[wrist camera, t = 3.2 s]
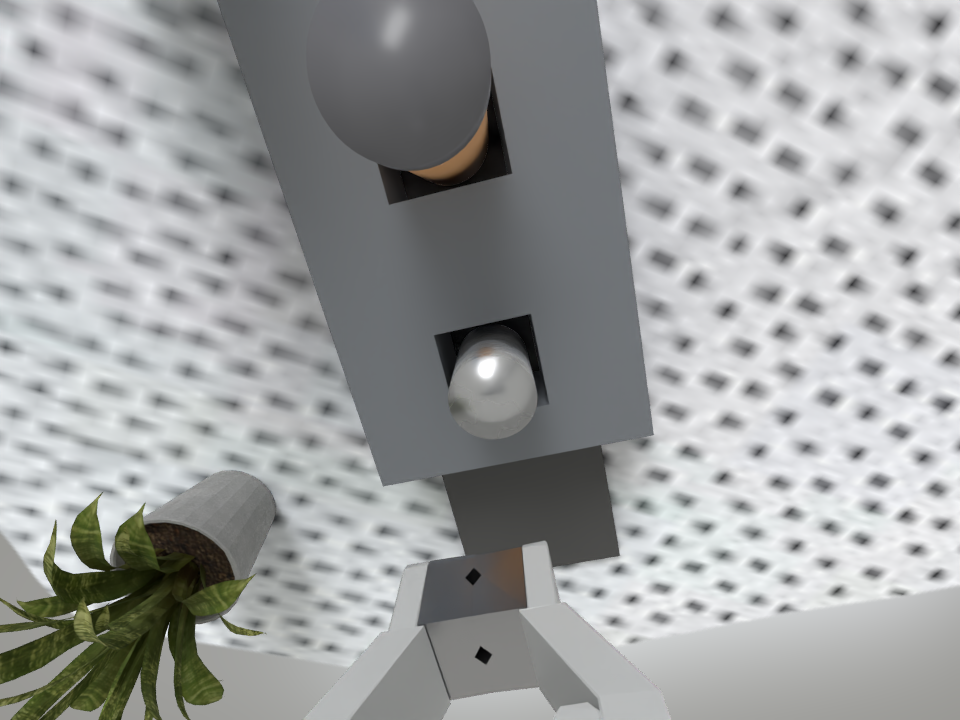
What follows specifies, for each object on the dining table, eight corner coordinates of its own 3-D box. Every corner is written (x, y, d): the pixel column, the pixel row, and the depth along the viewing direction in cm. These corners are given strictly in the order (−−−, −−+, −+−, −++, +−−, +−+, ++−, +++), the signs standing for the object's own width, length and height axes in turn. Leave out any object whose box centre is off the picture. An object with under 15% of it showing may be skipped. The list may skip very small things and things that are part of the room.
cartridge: (481, 74, 22) (466, -73, 11) (501, 176, 24) (508, 142, 12) (387, 100, 23) (279, -15, 11) (413, 199, 24) (340, 186, 13)
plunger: (450, 332, 23) (438, 367, 18) (520, 317, 23) (527, 347, 18) (467, 396, 24) (459, 446, 19) (533, 382, 24) (544, 430, 19)
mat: (594, 417, 28) (596, 421, 27) (617, 550, 31) (619, 555, 30) (436, 448, 29) (435, 452, 28) (473, 574, 32) (472, 579, 31)
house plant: (404, 520, 30) (311, 842, 15) (274, 625, 34) (84, 981, 18) (236, 371, 27) (-100, 577, 12) (110, 501, 31) (-285, 798, 15)
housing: (276, 44, 22) (216, -3, 17) (561, -41, 21) (581, -117, 16) (401, 440, 29) (383, 486, 24) (625, 396, 27) (653, 435, 22)
